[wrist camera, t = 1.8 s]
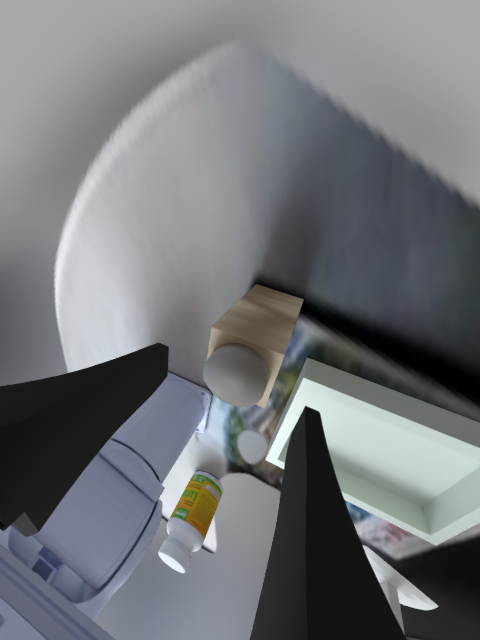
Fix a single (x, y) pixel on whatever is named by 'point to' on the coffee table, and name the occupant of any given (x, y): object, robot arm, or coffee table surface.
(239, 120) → the coffee table surface
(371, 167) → the coffee table surface
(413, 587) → the heart sculpture
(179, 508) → the supplement bottle
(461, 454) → the tray
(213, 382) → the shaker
